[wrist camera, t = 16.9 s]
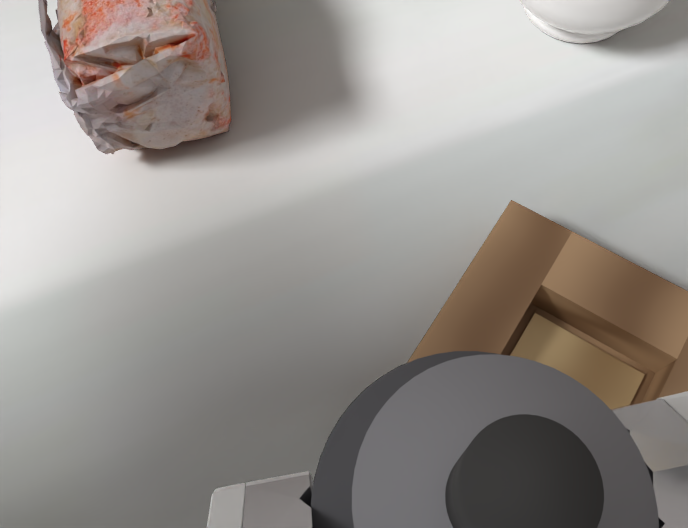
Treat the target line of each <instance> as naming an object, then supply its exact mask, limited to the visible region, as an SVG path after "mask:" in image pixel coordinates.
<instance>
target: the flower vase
mask: <svg viewBox="0 0 688 528" xmlns="http://www.w3.org/2000/svg"><path fill="white" fill-rule="evenodd" d="M519 1H520V2H521V4H522V5H523V6H524V10H525V13H526V15H527V16H528V18H529V19H530V21H531V22H532V23H533V24H534V25H535V26H536V27H537V28H538V29H539V30H541V31H542V32H544V33H546V34H547V35H549V36H551V37H553V38H556V39H559V40H562V41H566V42H573V43H591V42H597V41H601V40H604V39H607V38H609V37H611V36H612V35H614V34H615V33H617V32H619V31H620V30H623V29H626V28H629V27H632V26H635V25H638V24H640V23H642V22H643V21H645V20H646V19H648V18H649V17H651V16H653V15H654V14H656V13H657V12H659V11H660V10H662V9H663V8H664V7H665V6H666V4H667V3H668V2H669V1H670V0H519Z"/></svg>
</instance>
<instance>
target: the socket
mask: <svg viewBox="0 0 688 528" xmlns="http://www.w3.org/2000/svg"><path fill="white" fill-rule="evenodd" d="M453 351H480V352H488V353H496V354H500V355H508V356H516V357H521V358H525V359H529V360H533V361H536V362H539V363H542V364H544V365H547V366H550V367H553V368H555V369H557V370H559V371H560V372H562V373H564V374H566V375H568V376H570V377H572V378H573V379H575V380H576V381H578V382H579V383H581V384H582V385H584V386H585V387H587V388H588V389H589V390H590V391H591V392H593V393H594V394H595V395H596V396H597V397H599V398H600V399H601V400H602V401H603V402H604V403H605V404H606V405H607V406H608V407H609V408H610V409H615V408H619V407H624V406H629V405H634V404H638V403H643V402H648V401H653V400H656V399H657V398H661V397H665V396H669V395H674V394H678V393H682V392H686V391H688V291H686V290H684V289H682V288H680V287H679V286H677V285H675V284H673V283H671V282H669V281H667V280H665V279H663V278H661V277H659V276H657V275H655V274H653V273H651V272H650V271H648V270H646V269H644V268H642V267H640V266H638V265H636V264H634V263H632V262H630V261H628V260H626V259H624V258H623V257H621V256H619V255H617V254H615V253H613V252H611V251H609V250H607V249H605V248H603V247H601V246H599V245H597V244H595V243H594V242H592V241H590V240H588V239H586V238H584V237H582V236H580V235H578V234H576V233H574V232H572V231H570V230H568V229H566V228H565V227H563V226H561V225H559V224H557V223H555V222H553V221H551V220H549V219H547V218H545V217H543V216H541V215H539V214H538V213H536V212H534V211H532V210H530V209H528V208H526V207H524V206H522V205H520V204H518V203H516V202H514V201H512V200H511V201H510V203H509V204H508V206H507V208H506V209H505V211H504V212H503V214H502V215H501V217H500V218H499V220H498V222H497V223H496V225H495V226H494V228H493V229H492V231H491V233H490V234H489V236H488V237H487V239H486V240H485V242H484V243H483V245H482V247H481V248H480V250H479V251H478V253H477V254H476V256H475V258H474V259H473V261H472V262H471V264H470V265H469V267H468V268H467V270H466V272H465V273H464V275H463V276H462V278H461V279H460V281H459V283H458V284H457V286H456V287H455V289H454V290H453V292H452V293H451V295H450V297H449V298H448V300H447V301H446V303H445V304H444V306H443V308H442V309H441V311H440V312H439V314H438V315H437V317H436V318H435V320H434V322H433V323H432V325H431V326H430V328H429V329H428V331H427V333H426V334H425V336H424V337H423V339H422V340H421V342H420V343H419V345H418V347H417V348H416V350H415V351H414V353H413V354H412V356H411V358H410V359H409V361H408V362H411V361H413V360H416V359H419V358H422V357H426V356H430V355H434V354H439V353H446V352H453ZM408 362H407V363H408Z"/></svg>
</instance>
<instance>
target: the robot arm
mask: <svg viewBox="0 0 688 528" xmlns="http://www.w3.org/2000/svg"><path fill="white" fill-rule="evenodd" d="M611 410H612V411H613V413H614V414H615V415H616V416H617V417H618V418H619V420H620V421H621V422H622V424H623V425H624V426H625V428H626V429H627V430H628V432H629V433H630V435H631V437H632V438H633V440H634V442H635V444H636V445H637V447H638V449H639V450H640V453H641V455H642V457H643V460H644V462H645V464H646V466H647V469H648V471H649V475H650V478H651V481H652V484H653V488H654V491H655V497H656V502H657V508H658V519H659V528H688V391H686V392H682V393H678V394H674V395H669V396H665V397H661V398H657V399H656V400H653V401H648V402H643V403H638V404H634V405H629V406H624V407H619V408H615V409H611ZM313 484H314V483H313V479H312V475H311V473H310V471H305V472H299V473H294V474H288V475H283V476H277V477H272V478H266V479H261V480H255V481H250V482H247V483H240V484H235V485H230V486H225V487H220V488H216V489H215V490H214V492H213V494H212V496H211V502H210V509H209V516H208V523H207V528H315V527H314V521H313V514H312V509H311V497H312V490H313Z"/></svg>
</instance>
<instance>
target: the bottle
mask: <svg viewBox="0 0 688 528" xmlns="http://www.w3.org/2000/svg"><path fill="white" fill-rule="evenodd" d="M311 509H312V514H313V521H314V527H315V528H659V519H658V508H657V502H656V497H655V491H654V488H653V484H652V481H651V478H650V475H649V471H648V469H647V466H646V464H645V462H644V460H643V457H642V455H641V453H640V450H639V449H638V447H637V445H636V444H635V442H634V440H633V438H632V437H631V435H630V433H629V432H628V430H627V429H626V428H625V426H624V425H623V424H622V422H621V421H620V420H619V418H618V417H617V416H616V415H615V414H614V413H613V411H612V410H611V409H610V408H609V407H608V406H607V405H606V404H605V403H604V402H603V401H602V400H601V399H600V398H599V397H597V396H596V395H595V394H594V393H593V392H591V391H590V390H589V389H588V388H587V387H585V386H584V385H582V384H581V383H579V382H578V381H576V380H575V379H573V378H572V377H570V376H568V375H566V374H564V373H562V372H560V371H559V370H557V369H555V368H553V367H550V366H547V365H544V364H542V363H539V362H536V361H533V360H529V359H525V358H521V357H516V356H508V355H500V354H496V353H488V352H480V351H453V352H446V353H439V354H434V355H430V356H426V357H422V358H419V359H416V360H413V361H411V362H408V363H406V364H404V365H401V366H399V367H397V368H395V369H394V370H392V371H390V372H388V373H387V374H385V375H383V376H382V377H380V378H379V379H378V380H376V381H375V382H374V383H372V384H371V385H370V386H369V387H367V388H366V389H365V390H364V391H363V392H362V393H361V394H360V395H359V396H358V397H357V398H356V399H355V400H354V401H353V402H352V403H351V404H350V406H349V407H348V408H347V409H346V411H345V412H344V413H343V415H342V416H341V417H340V419H339V420H338V422H337V424H336V425H335V427H334V429H333V430H332V432H331V434H330V436H329V437H328V440H327V442H326V445H325V447H324V449H323V452H322V454H321V456H320V460H319V463H318V467H317V470H316V474H315V477H314V484H313V490H312V497H311Z"/></svg>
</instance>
